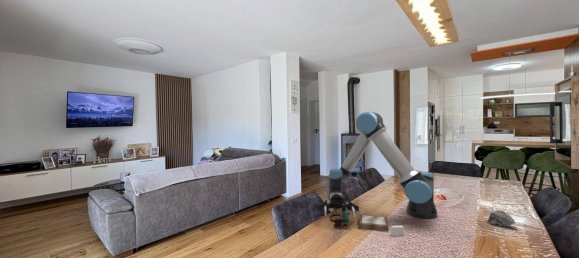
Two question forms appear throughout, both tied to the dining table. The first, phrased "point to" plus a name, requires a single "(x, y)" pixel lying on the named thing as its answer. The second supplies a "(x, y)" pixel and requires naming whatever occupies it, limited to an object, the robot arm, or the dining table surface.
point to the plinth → (373, 223)
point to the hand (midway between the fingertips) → (339, 213)
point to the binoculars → (344, 217)
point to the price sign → (397, 230)
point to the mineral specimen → (500, 218)
